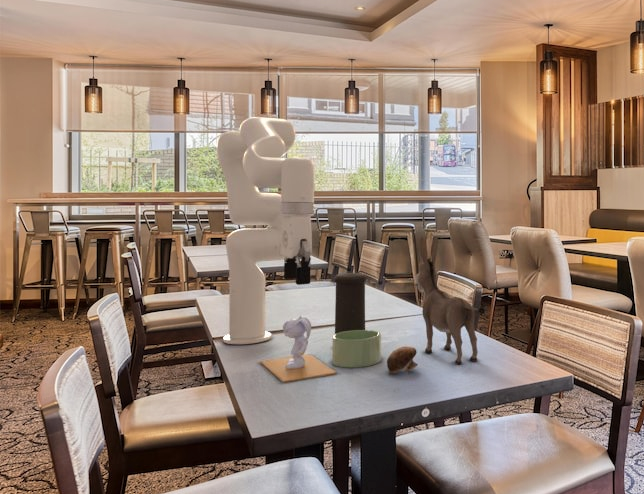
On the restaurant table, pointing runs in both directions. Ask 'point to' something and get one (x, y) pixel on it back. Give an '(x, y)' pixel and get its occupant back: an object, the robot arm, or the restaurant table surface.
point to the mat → (308, 371)
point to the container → (350, 302)
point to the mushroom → (402, 359)
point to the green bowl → (356, 348)
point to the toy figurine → (297, 340)
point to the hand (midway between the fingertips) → (296, 281)
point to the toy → (444, 307)
